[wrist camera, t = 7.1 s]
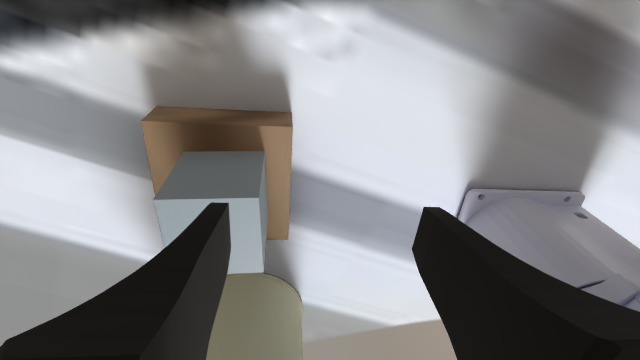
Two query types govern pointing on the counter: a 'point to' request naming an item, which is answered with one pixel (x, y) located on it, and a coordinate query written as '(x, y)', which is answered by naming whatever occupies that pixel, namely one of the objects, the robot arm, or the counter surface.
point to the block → (219, 201)
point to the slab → (225, 148)
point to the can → (257, 320)
